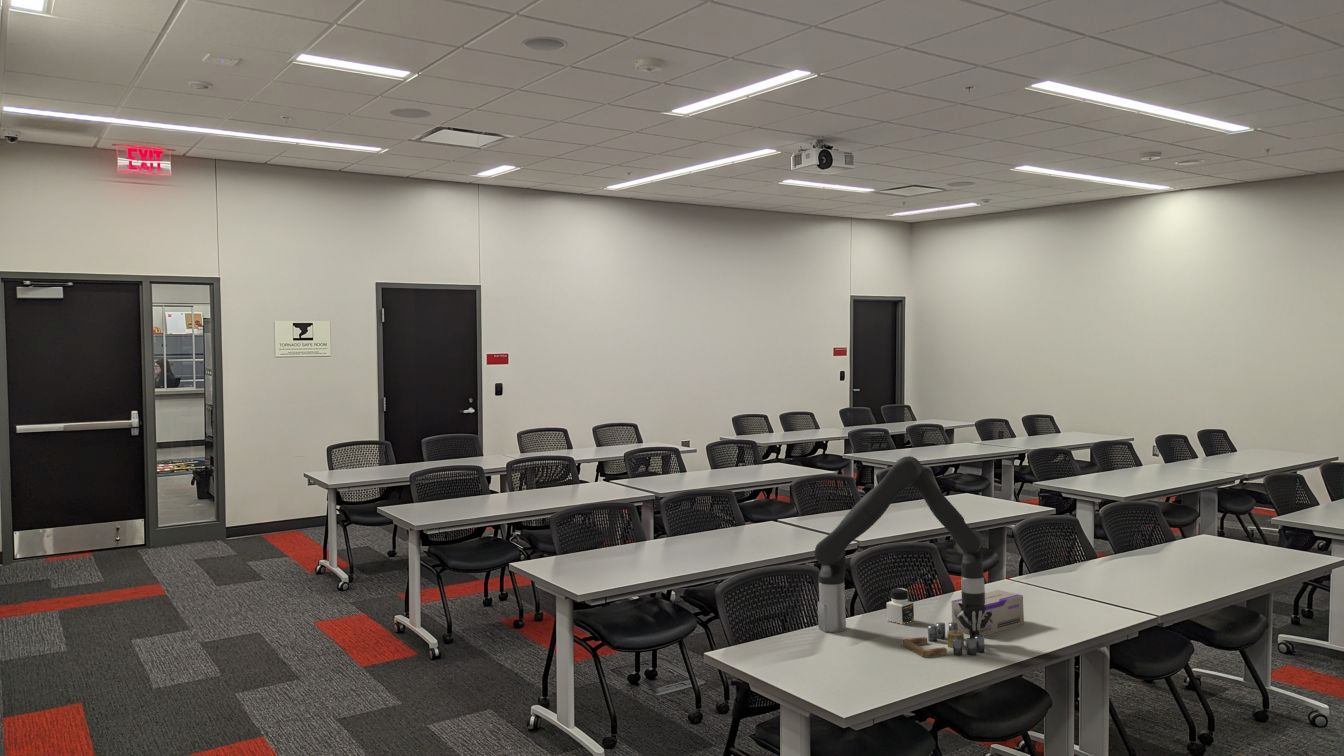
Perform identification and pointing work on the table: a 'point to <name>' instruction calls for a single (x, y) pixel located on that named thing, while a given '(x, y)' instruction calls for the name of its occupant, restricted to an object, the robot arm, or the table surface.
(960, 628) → the surgical sutures box
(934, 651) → the walnut bay
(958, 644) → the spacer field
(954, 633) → the brass nut
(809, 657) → the table surface
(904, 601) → the medicine bottle
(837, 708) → the table surface
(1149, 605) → the table surface
